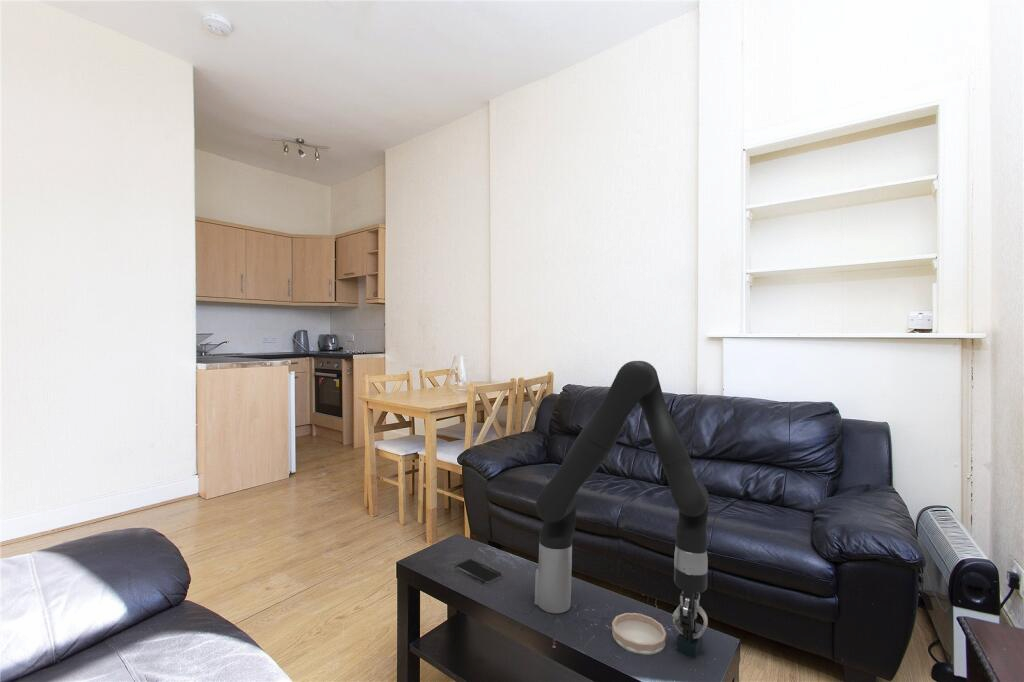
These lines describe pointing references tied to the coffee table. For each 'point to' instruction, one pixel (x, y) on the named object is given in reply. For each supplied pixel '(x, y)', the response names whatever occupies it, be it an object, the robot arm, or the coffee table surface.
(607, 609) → the coffee table surface
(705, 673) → the coffee table surface
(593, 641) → the coffee table surface
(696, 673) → the coffee table surface
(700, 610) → the watch
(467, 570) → the phone
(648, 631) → the dish
